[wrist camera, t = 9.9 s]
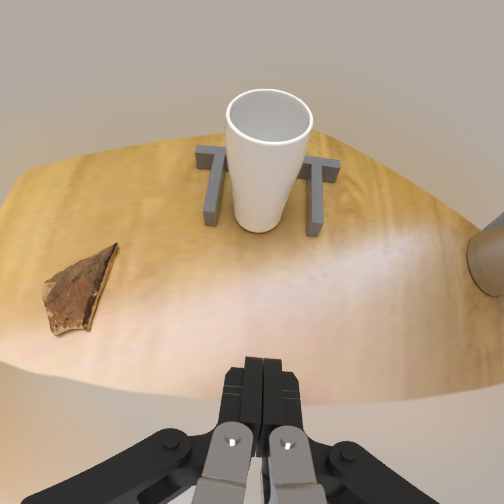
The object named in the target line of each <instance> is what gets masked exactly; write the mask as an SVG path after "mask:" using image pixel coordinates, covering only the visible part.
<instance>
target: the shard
mask: <svg viewBox="0 0 504 504" xmlns="http://www.w3.org/2000/svg"><path fill="white" fill-rule="evenodd" d="M117 245H118V243H115V244H114V245H112V246H110V247H108V248H106V249H103V250H102V251H100V252H99V253H98V254H95V255H93V256H91V257H89V258H86V259H84V260H81V261H79V262H77V263H76V264H74V265H71V266H69V267H67V268H66V269H65V270H63V271H60V272H59V273H57V274H56V275H54V276H53V277H52V278H51V279H49V280H47V281H45V282H44V283H43V285H42V293H43V300H44V305H45V308H46V312H47V316H48V319H49V323H50V329H51V332H52V333H53V335H54V336H56V335H58V334H60V333H62V332H65V331H68V330H70V329H81V330H87V331H89V330H90V328H91V323H92V318H93V314H94V311H95V309H96V305H97V301H98V298H99V296H100V294H101V292H102V290H103V288H104V285H105V283H106V280H107V278H108V276H109V273H110V271H111V269H112V266H113V263H114V259H115V256H116V248H117Z"/></svg>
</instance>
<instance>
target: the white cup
mask: <svg viewBox="0 0 504 504" xmlns="http://www.w3.org/2000/svg"><path fill="white" fill-rule="evenodd" d="M312 127H313V116H312V113H311V111H310V110H309V108H308V107H307V105H306V104H305V103H304V102H303V101H301V100H300V99H299V98H297V97H295V96H294V95H291V94H289V93H286V92H283V91H280V90H274V89H256V90H251V91H248V92H245V93H243V94H240V95H239V96H237V97H236V98H234V99H233V100H232V101H231V102H230V104H229V105H228V107H227V110H226V122H225V147H226V156H227V163H228V170H229V176H230V182H231V188H232V195H233V202H234V215H235V218H236V220H237V222H238V223H239V224H240V225H241V226H242V227H243V228H244V229H246V230H248V231H251V232H255V233H262V232H267V231H269V230H271V229H273V228H274V227H275V226H276V225H277V224H278V223H279V221H280V219H281V217H282V213H283V210H284V207H285V205H286V202H287V200H288V198H289V195H290V193H291V191H292V188H293V186H294V184H295V181H296V179H297V177H298V174H299V172H300V170H301V167H302V165H303V162H304V159H305V156H306V153H307V150H308V146H309V142H310V137H311V132H312Z"/></svg>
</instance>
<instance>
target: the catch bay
mask: <svg viewBox="0 0 504 504" xmlns="http://www.w3.org/2000/svg"><path fill="white" fill-rule="evenodd" d="M195 155H196V162H197V168H198V169H211V173H210V178H209V183H208V188H207V193H206V198H205V203H204V208H203V214H204V220H205V225H209V226H216V224H217V218H218V212H219V206H220V200H221V194H222V188H223V182H224V176H225V171H229V170H228V163H227V156H226V147H217V146H201V145H197V148H196V151H195ZM339 171H340V161H339V160H333V159H326V158H319V157H312V156H305V159H304V162H303V165H302V167H301V170H300V172H299V174H298V177H297V178H301V179H307V232H306V235H307V236H316V237H317V236H318V234H319V232H320V230H321V228H322V226H323V188H322V181H324V182H331V183H334V182H335V180H336V178H337V175H338V173H339Z"/></svg>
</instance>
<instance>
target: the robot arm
mask: <svg viewBox="0 0 504 504" xmlns="http://www.w3.org/2000/svg"><path fill="white" fill-rule="evenodd" d="M467 260H468V265H469V269H470V272H471V274H472V277H473V278H474V280H475V282H476V283H477V285H478V286H479V287H480V288H481V289H482V290H483V291H484V292H485V293H487V294H488V295H491V296H499V295H502V294H504V212H503V213H502V214H501V215H500V216H499V217H497V218H496V219H495V220H494V221H493V222H492V223H490V224H489V225H488V226H487V227H485V228H484V229H483V230H482V231H481V232H479V233H478V234H477V235H476V236H474V237H473V238H472V239H471V241H470V243H469V245H468V249H467ZM255 452H256V457H262V468H261V472H260V478H261V494H262V504H439V503H438V502H436V501H435V500H434V499H432V498H430V497H429V496H428V495H426V494H425V493H423V492H422V491H420V490H419V489H417V488H416V487H415V486H413V485H412V484H410V483H409V482H408V481H406V480H405V479H404V478H402V477H401V476H399V475H398V474H397V473H395V472H394V471H393V470H391V469H390V468H388V467H387V466H386V465H385V464H383V463H382V462H381V461H379V460H378V459H377V458H375V457H374V456H373V455H371V454H370V453H369V452H367V451H366V450H365V449H364V448H363V447H361V446H360V445H358V444H357V443H354V442H350V441H342V442H339V443H336V444H335V445H334V446H328V445H325V444H321V443H318V442H315V441H313V440H312V439H310V438H309V437H308V436H307V435H306V433H305V432H304V430H303V423H302V412H301V402H300V392H299V382H298V380H297V378H296V377H295V375H294V374H293V372H284V371H282V362H281V359H270V358H264V360H263V358H257V357H247V356H246V357H245V366H244V368H236V367H231V369H230V370H229V371H228V372H227V374H226V375H225V381H224V387H223V394H222V400H221V407H220V413H219V419H218V423H217V425H216V427H215V428H214V429H213V430H211V431H210V432H208V433H206V434H203V435H196V436H187V435H186V434H185V433H184V432H182V431H180V430H178V429H173V428H167V429H162V430H160V431H158V432H156V433H154V434H153V435H151V436H149V437H148V438H146V439H144V440H142V441H141V442H139V443H137V444H135V445H134V446H132V447H130V448H128V449H126V450H124V451H122V452H121V453H119V454H117V455H115V456H113V457H111V458H109V459H108V460H106V461H104V462H102V463H100V464H98V465H96V466H94V467H92V468H90V469H88V470H86V471H84V472H82V473H80V474H78V475H76V476H73V477H71V478H69V479H67V480H65V481H63V482H61V483H58V484H56V485H54V486H52V487H49V488H47V489H45V490H42V491H40V492H38V493H35V494H33V495H31V496H28V497H26V498H25V499H24V500H23V501H22V502H21V504H167V503H168V502H170V501H171V500H173V499H174V498H176V497H177V496H179V495H180V494H182V493H183V492H184V491H186V490H187V489H189V488H190V487H191V486H194V485H196V489H195V493H194V496H193V500H192V503H191V504H243V501H244V495H245V488H246V481H247V475H248V471H249V467H250V462H251V457H254V456H255Z"/></svg>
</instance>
